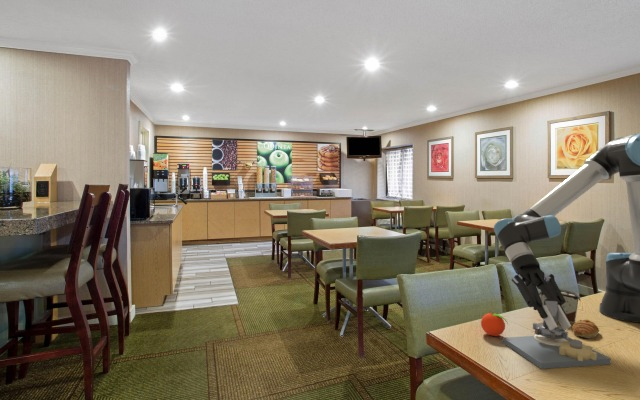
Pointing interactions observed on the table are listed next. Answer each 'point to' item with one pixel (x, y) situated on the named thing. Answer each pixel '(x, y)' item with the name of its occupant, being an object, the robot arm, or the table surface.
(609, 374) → the table surface
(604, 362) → the gear board
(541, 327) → the gear
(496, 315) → the clementine
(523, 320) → the table surface
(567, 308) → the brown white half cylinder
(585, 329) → the pastry
